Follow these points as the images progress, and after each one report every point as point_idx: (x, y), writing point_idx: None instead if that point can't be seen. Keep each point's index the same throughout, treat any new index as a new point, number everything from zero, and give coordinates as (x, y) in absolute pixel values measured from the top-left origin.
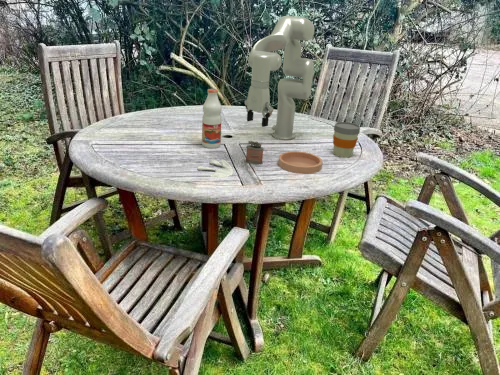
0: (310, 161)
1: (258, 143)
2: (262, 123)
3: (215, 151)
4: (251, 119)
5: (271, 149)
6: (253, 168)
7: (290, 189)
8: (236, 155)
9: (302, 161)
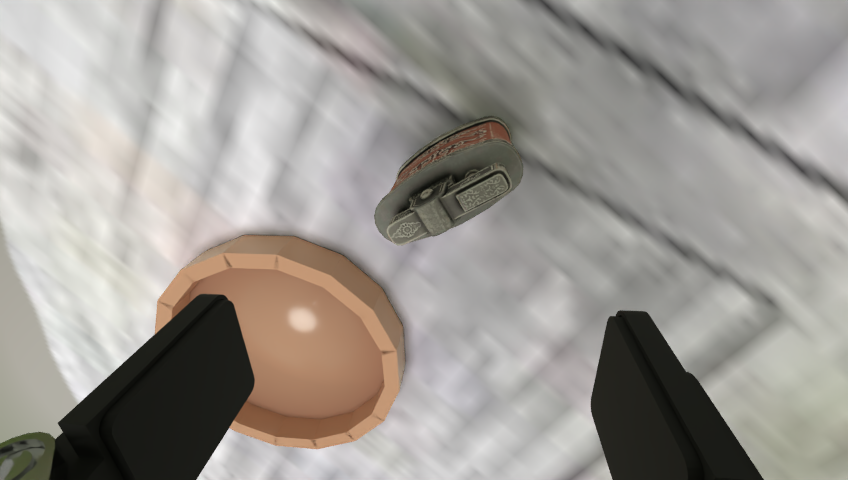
0: (287, 396)
1: (408, 220)
2: (172, 327)
3: (845, 40)
4: (602, 396)
5: (550, 385)
6: (368, 77)
7: (6, 52)
8: (635, 140)
9: (304, 371)
